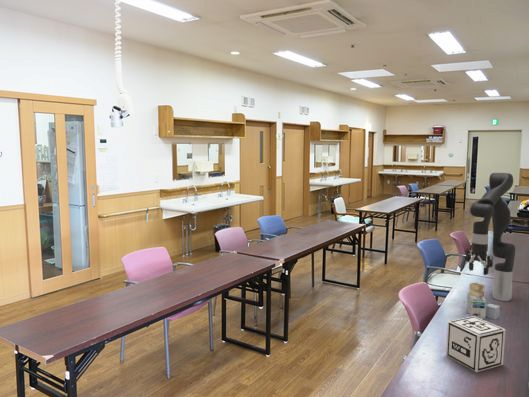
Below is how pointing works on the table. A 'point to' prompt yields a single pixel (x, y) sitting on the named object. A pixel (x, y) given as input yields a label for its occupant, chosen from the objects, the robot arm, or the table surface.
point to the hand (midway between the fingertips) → (478, 272)
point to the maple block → (476, 290)
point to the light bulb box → (476, 306)
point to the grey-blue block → (492, 311)
